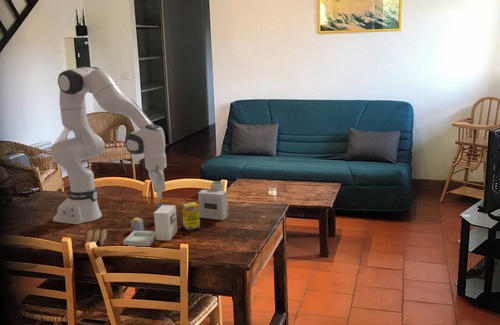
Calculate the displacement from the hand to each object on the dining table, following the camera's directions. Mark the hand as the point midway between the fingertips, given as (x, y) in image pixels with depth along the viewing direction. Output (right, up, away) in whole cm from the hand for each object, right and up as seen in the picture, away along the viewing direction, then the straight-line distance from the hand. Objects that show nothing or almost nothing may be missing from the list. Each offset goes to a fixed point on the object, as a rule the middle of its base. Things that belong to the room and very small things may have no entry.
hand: (157, 194), depth 223 cm
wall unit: (+4, -18, +1) cm, 18 cm away
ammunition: (-25, -20, -3) cm, 32 cm away
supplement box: (+14, -15, +9) cm, 23 cm away
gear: (+1, -13, +20) cm, 24 cm away
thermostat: (+24, -11, +26) cm, 37 cm away
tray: (-6, -19, -3) cm, 20 cm away
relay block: (-10, -17, +8) cm, 21 cm away
